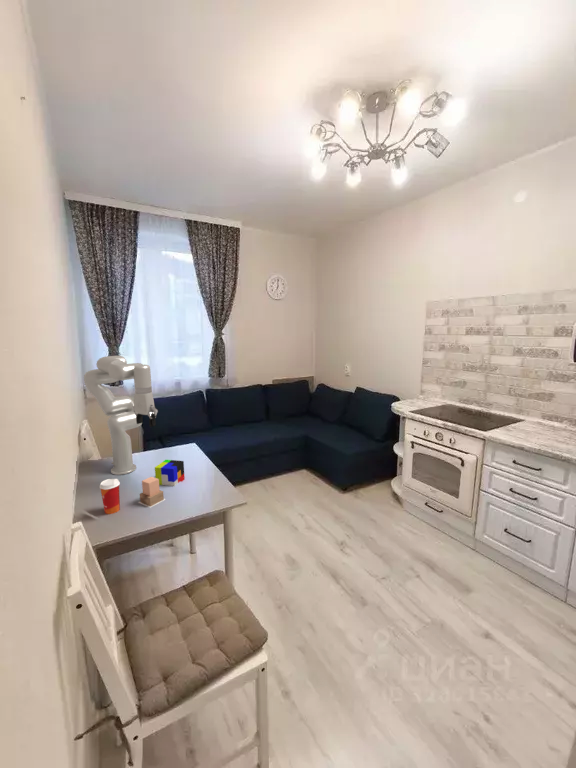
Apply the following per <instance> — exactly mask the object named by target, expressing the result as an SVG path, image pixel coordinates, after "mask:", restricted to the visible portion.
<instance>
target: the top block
mask: <svg viewBox="0 0 576 768" xmlns="http://www.w3.org/2000/svg"><path fill="white" fill-rule="evenodd" d="M141 485H142V487H141V488H142V493H143V494H145V495H148V496H152V495H154V494H156V493H158V492H160V490H161V489H160V485H159V479H157V478H156V477H153V476H149V477H147V478H145V479H143V480H141Z"/></svg>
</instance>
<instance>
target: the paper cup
mask: <svg viewBox="0 0 576 768" xmlns="http://www.w3.org/2000/svg"><path fill="white" fill-rule="evenodd" d="M120 484H121V482H120V481H119V479H118V478H108V479H104V480H103V481H101V482H100V485H99V486H98V487H99V489H100V493H101V498H102V503H103V504H102V505H103V510H104V513H105V515H111V514H115V513H117V512H119V511H120V510H121V508H120V507H121V505H120V503H121V502H120V499H121V497H120Z"/></svg>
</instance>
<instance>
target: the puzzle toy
mask: <svg viewBox="0 0 576 768" xmlns="http://www.w3.org/2000/svg"><path fill="white" fill-rule="evenodd" d="M184 462H185V461H184V460H176V459H175V460H173V459H164V460H163V461H162V462H161V463H159V464H158V465H156V466H155V467H154V475H155V477H154V478H157V479H159V486H168V487H169V486H171V487H175V486H177V484H179V483H180V482H181V483H183V481H184V480H185V478H186V477H185V464H184Z"/></svg>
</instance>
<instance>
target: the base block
mask: <svg viewBox="0 0 576 768" xmlns="http://www.w3.org/2000/svg"><path fill="white" fill-rule="evenodd" d="M164 499H165V497H164V491H163V490H161V489H160V492H158V493H156V494H154V495H152V496H148V495H145V494H143V492H141V493H139V502H141V503H143V504H146V505H148V506H153V505H154V504H156V503H158V502H160V501H162V500H164ZM164 501H165V500H164ZM162 502H163V501H162ZM160 503H161V502H160ZM158 504H159V503H158ZM156 505H157V504H156ZM153 507H154V506H153Z"/></svg>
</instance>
